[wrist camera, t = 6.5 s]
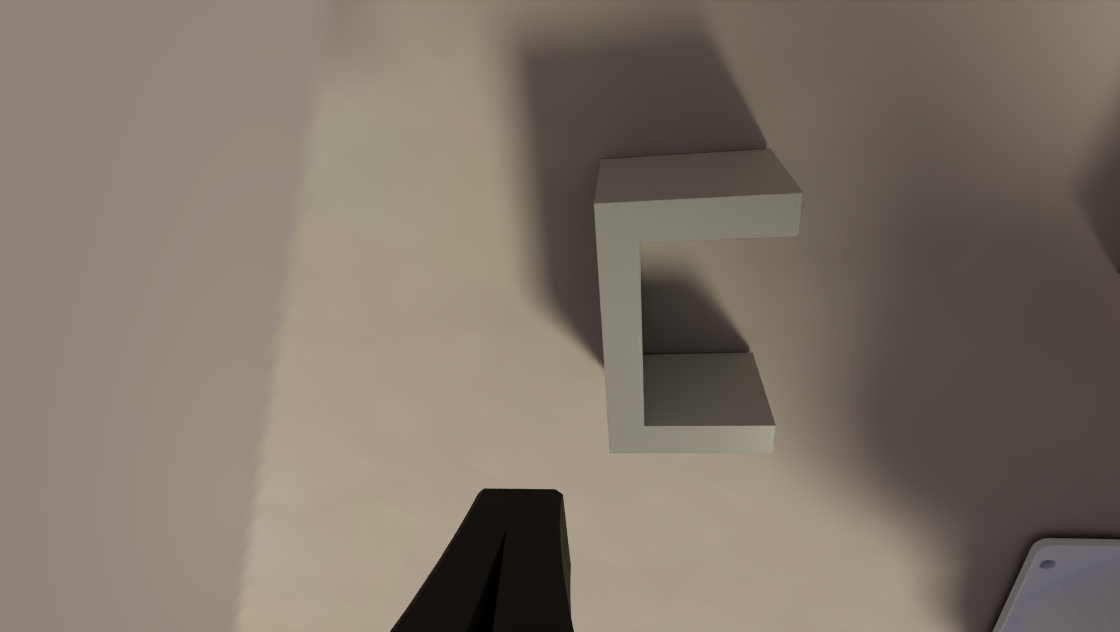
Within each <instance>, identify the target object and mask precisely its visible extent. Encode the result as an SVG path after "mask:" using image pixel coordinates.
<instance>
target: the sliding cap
mask: <svg viewBox="0 0 1120 632" xmlns="http://www.w3.org/2000/svg"><path fill="white" fill-rule="evenodd" d="M802 200H803V192H802V190H801V189H800V188H799V186H798V185H797V184H796V182H795V181H794V180H793V178H792V177H791V176H790V174H789V173H788V172H787V170H786V169H785V168H784V166H783V165H782V164H781V162H780V161H779V160H778V158H777V157H776V156H775V154H774V153H773V152H772V150H771V149H760V150H744V151H727V152H711V153H695V154H679V155H662V156H646V157H630V158H613V159H600V165H599V172H598V179H597V185H596V192H595V199H594V213H595V229H596V245H597V260H598V276H599V292H600V307H601V323H602V338H603V354H604V370H605V385H606V401H607V417H608V432H609V448H610V453H772V452H773V444H774V436H775V427H776V425H775V422H774V419H773V416H772V413H771V409H770V406H769V403H768V400H767V397H766V394H765V390H764V387H763V384H762V381H761V378H760V375H759V371H758V368H757V365H756V362H755V359H754V356H753V353H712V354H657V355H643V352H642V310H641V269H640V243H648V242H671V241H695V240H718V239H742V238H765V237H788V236H798V234H799V226H800V217H801V209H802Z"/></svg>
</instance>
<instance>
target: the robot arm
mask: <svg viewBox="0 0 1120 632" xmlns="http://www.w3.org/2000/svg"><path fill="white" fill-rule="evenodd" d="M570 575H571V563H570V554H569V546H568V537H567V528H566V519H565V510H564V501H563V494H561V493H560V492H558V491H557V490H556V489H483V490H482V491H481V492H479V493H478V495H477V497H476V499H475V501H474V502H473V504H472V506H471V508H470V510H469V511H468V513H467V515H466V516H465V518H464V520H463V522H462V523H461V525H460V527H459V528H458V530H457V532H456V533H455V535H454V537H453V538H452V540H451V542H450V543H449V545H448V546H447V548H446V550H445V551H444V553H443V554H442V556H441V558H440V559H439V561H438V562H437V564H436V566H435V567H434V569H433V570H432V572H431V573H430V575H429V576H428V578H427V579H426V580H425V582H424V583H423V585H422V586H421V588H420V589H419V591H418V592H417V594H416V595H415V597H414V598H413V600H412V601H411V603H410V604H409V606H408V607H407V609H406V610H405V612H404V613H403V614H402V616H401V617H400V619H399V620H398V621H397V623H396V624H395V625H394V627H393V628H392V629H391V631H390V632H574V630H573V625H572V620H571V603H570ZM993 632H1120V539H1072V538H1045V539H1041V540H1038V541H1037V542H1035V543H1034V544H1033V545H1032V547H1031V549H1030V551H1029V553H1028V556H1027V558H1026V560H1025V562H1024V564H1023V566H1022V569H1021V571H1020V573H1019V575H1018V577H1017V579H1016V582H1015V584H1014V586H1013V588H1012V590H1011V593H1010V595H1009V597H1008V599H1007V601H1006V603H1005V606H1004V608H1003V610H1002V612H1001V614H1000V617H999V619H998V621H997V623H996V625H995V627H994V630H993Z"/></svg>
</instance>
